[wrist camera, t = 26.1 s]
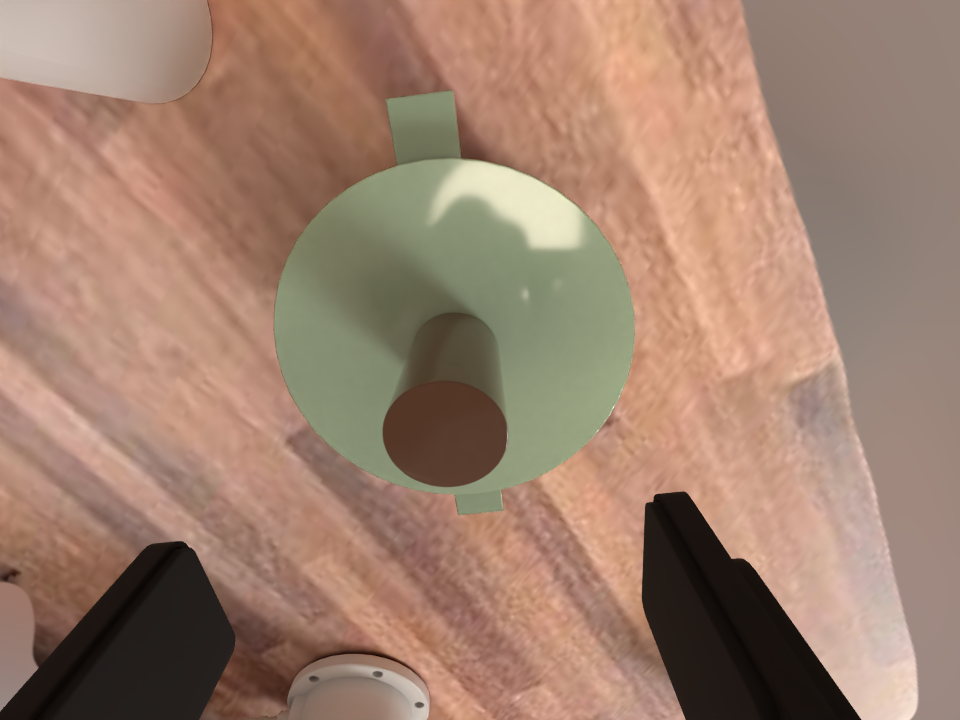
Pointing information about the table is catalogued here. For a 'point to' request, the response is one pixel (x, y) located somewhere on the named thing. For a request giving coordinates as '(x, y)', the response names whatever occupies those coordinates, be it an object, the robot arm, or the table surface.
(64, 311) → the table surface
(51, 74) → the cylindrical container
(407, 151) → the pot
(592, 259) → the lid
